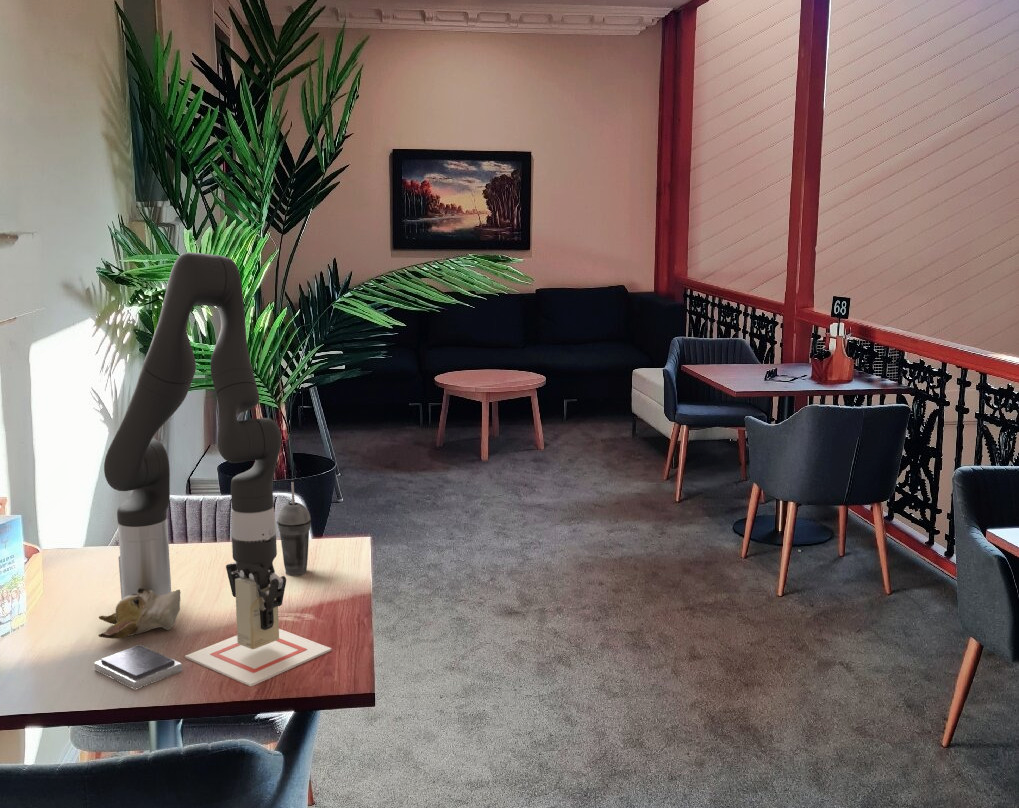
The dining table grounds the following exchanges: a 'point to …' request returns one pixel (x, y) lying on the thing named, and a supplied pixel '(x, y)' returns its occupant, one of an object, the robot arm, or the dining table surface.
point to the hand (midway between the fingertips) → (258, 624)
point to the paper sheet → (258, 657)
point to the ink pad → (138, 666)
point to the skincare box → (252, 616)
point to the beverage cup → (294, 536)
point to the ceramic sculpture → (142, 613)
